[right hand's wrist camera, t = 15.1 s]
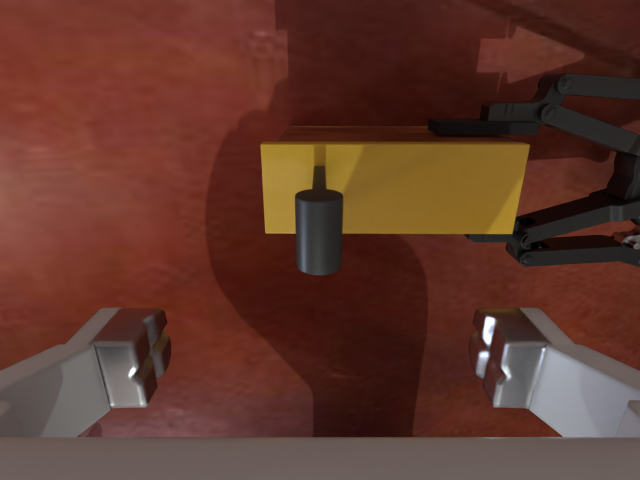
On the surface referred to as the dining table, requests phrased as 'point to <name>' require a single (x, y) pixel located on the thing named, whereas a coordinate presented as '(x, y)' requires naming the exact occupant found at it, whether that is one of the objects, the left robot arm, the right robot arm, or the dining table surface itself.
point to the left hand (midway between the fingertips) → (428, 175)
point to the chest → (380, 134)
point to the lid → (387, 191)
